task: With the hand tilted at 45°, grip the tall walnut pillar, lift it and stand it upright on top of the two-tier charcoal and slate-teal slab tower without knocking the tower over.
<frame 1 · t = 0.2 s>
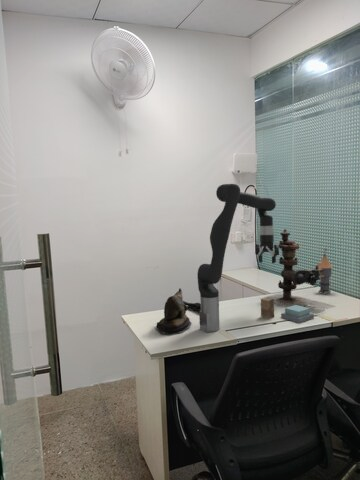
hand: (267, 262, 216), 28 cm above the table, tool pointing down, fingers open, 8 cm apart
tower base slab: (297, 319, 206), on the table, touching tower top slab
walnut pillar: (267, 316, 210), on the table
sculpture 2: (172, 328, 198), on the table
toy: (194, 310, 228), on the table
valve: (296, 302, 235), on the table
tower top slab: (297, 313, 206), point 2 cm above the table, touching tower base slab
model tower: (324, 292, 255), on the table
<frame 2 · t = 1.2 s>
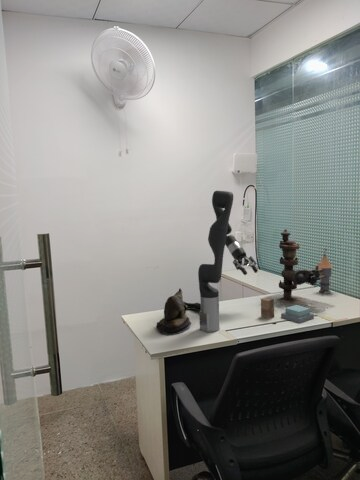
hand: (251, 273, 217), 23 cm above the table, tool tilted 45°, fingers open, 8 cm apart
nothing on the table moved.
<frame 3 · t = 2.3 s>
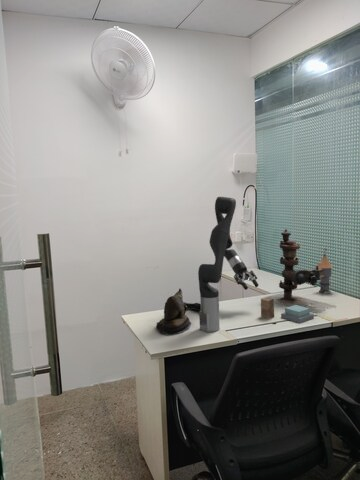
hand: (252, 287, 217), 14 cm above the table, tool tilted 45°, fingers open, 8 cm apart
nothing on the table moved.
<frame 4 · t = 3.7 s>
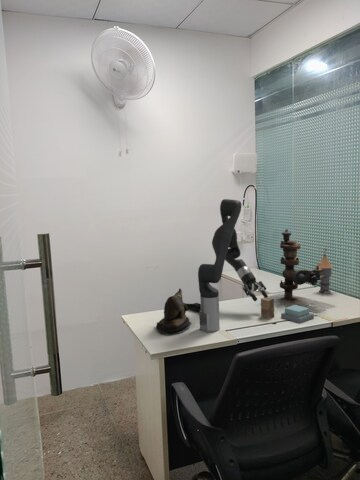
hand: (261, 299, 212), 9 cm above the table, tool tilted 45°, fingers open, 8 cm apart
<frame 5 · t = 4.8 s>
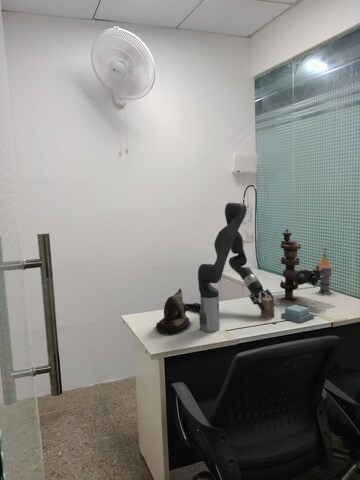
hand: (268, 307, 209), 5 cm above the table, tool tilted 45°, fingers open, 8 cm apart
tower base slab: (297, 319, 206), on the table
tower top slab: (297, 313, 206), point 2 cm above the table
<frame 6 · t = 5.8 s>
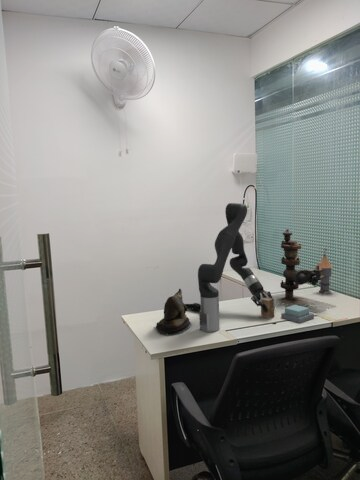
hand: (270, 309, 208), 4 cm above the table, tool tilted 45°, fingers closed on walnut pillar, 5 cm apart
walnut pillar: (267, 316, 210), on the table, touching gripper
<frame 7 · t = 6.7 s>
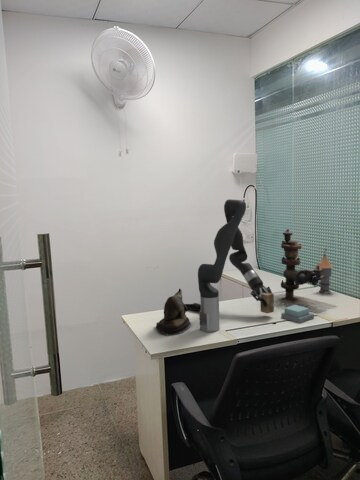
hand: (269, 304, 207), 7 cm above the table, tool tilted 45°, fingers closed on walnut pillar, 5 cm apart
tower base slab: (297, 319, 206), on the table, touching tower top slab
walnut pillar: (267, 311, 209), point 3 cm above the table, touching gripper
tower top slab: (296, 313, 206), point 2 cm above the table, touching tower base slab
when the fingers open (11 cm above the table, at t = 11.1 s): walnut pillar drops 1 cm, resting on tower top slab.
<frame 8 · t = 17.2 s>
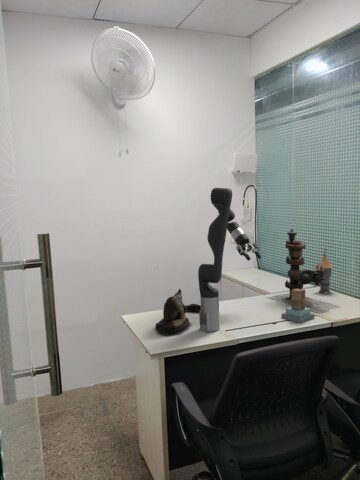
hand: (254, 258, 216), 31 cm above the table, tool tilted 45°, fingers open, 8 cm apart
walnut pillar: (298, 308, 205), point 6 cm above the table, touching tower top slab
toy: (190, 312, 226), on the table
valve: (302, 302, 235), on the table
tower top slab: (298, 313, 205), point 2 cm above the table, touching tower base slab, walnut pillar
at the end: walnut pillar 0.0 cm off-centre on the tower top slab, point 3.1 cm above the tower top slab's base; walnut pillar tilted 3°; tower top slab moved 0.9 cm from its start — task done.
